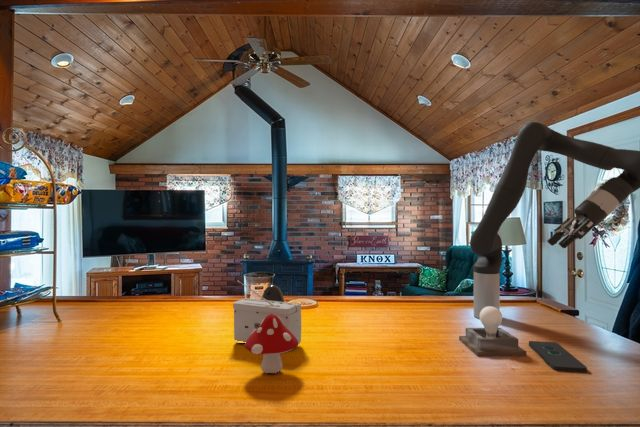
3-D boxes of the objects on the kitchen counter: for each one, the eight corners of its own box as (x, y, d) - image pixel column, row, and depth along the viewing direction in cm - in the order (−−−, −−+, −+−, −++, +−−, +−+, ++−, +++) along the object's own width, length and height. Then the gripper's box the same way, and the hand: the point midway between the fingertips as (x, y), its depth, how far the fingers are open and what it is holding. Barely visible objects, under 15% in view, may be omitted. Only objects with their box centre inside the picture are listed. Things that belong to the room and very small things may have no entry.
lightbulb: (505, 347, 115) (504, 309, 115) (482, 345, 116) (481, 308, 116) (499, 339, 121) (499, 304, 121) (477, 338, 122) (477, 303, 122)
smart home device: (556, 341, 119) (588, 367, 99) (556, 347, 119) (588, 374, 99) (527, 340, 121) (553, 365, 101) (527, 345, 121) (553, 372, 101)
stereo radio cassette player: (302, 345, 121) (302, 280, 121) (289, 354, 113) (288, 285, 113) (246, 336, 130) (245, 276, 130) (230, 344, 122) (230, 280, 122)
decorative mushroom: (275, 389, 91) (274, 325, 91) (232, 376, 98) (231, 316, 98) (309, 368, 103) (308, 311, 103) (268, 358, 110) (267, 305, 110)
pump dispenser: (252, 330, 136) (251, 287, 136) (267, 322, 145) (266, 281, 145) (278, 334, 132) (278, 289, 132) (292, 325, 142) (291, 283, 141)
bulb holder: (459, 339, 125) (459, 326, 125) (502, 339, 125) (502, 326, 125) (477, 356, 111) (477, 341, 111) (526, 355, 111) (526, 340, 111)
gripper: (575, 199, 127) (537, 234, 129) (599, 198, 113) (555, 237, 115) (593, 215, 126) (554, 251, 128) (619, 216, 112) (575, 256, 114)
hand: (555, 244), depth 121 cm, fingers open, 8 cm apart
